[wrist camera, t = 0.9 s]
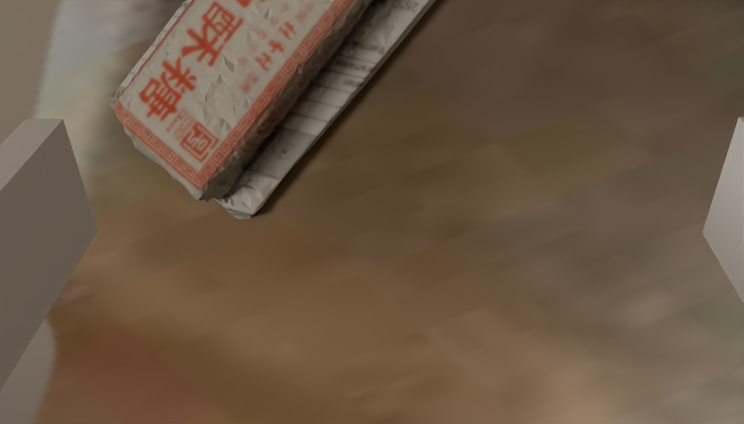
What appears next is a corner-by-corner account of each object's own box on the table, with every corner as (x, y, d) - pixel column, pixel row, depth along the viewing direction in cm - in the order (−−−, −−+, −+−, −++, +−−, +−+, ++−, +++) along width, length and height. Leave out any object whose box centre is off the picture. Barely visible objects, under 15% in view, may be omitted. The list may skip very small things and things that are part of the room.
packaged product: (222, 237, 33) (65, 100, 33) (252, 225, 37) (115, 105, 38) (476, -71, 30) (303, -219, 30) (473, -42, 35) (324, -169, 35)
